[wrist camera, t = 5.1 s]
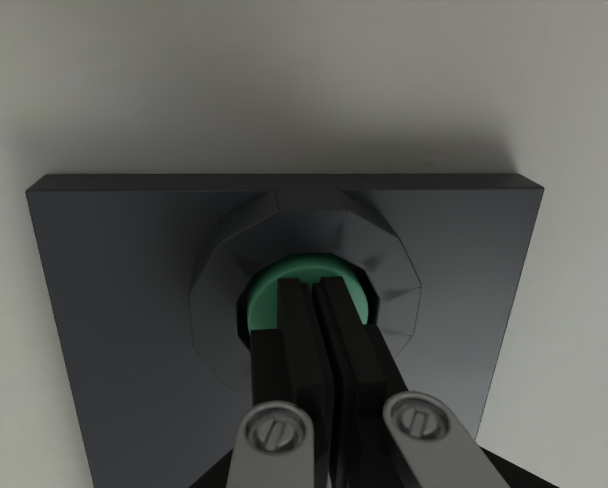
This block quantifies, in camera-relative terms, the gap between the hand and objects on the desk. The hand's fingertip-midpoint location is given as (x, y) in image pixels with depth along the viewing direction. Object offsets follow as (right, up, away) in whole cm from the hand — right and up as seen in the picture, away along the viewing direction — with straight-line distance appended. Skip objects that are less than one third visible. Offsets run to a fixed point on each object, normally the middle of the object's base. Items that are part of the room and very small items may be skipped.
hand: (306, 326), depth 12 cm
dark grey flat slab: (-1, -3, +5) cm, 6 cm away
